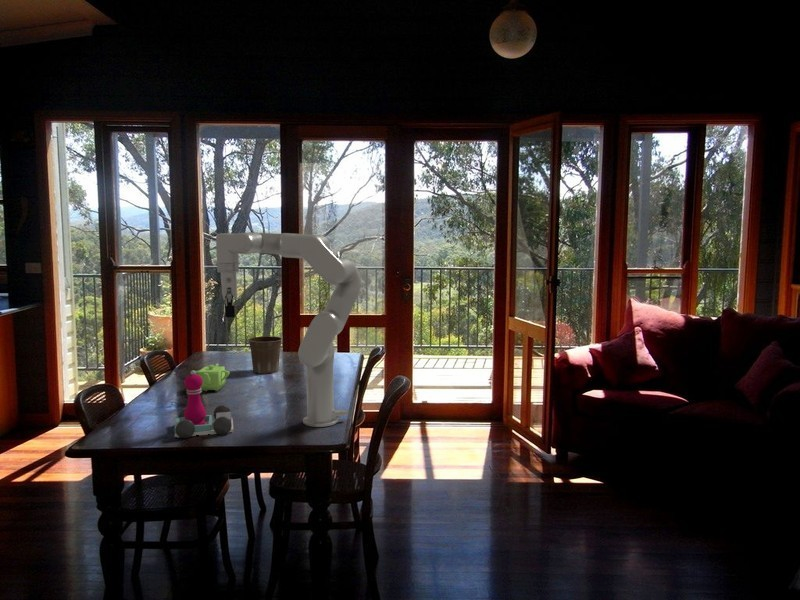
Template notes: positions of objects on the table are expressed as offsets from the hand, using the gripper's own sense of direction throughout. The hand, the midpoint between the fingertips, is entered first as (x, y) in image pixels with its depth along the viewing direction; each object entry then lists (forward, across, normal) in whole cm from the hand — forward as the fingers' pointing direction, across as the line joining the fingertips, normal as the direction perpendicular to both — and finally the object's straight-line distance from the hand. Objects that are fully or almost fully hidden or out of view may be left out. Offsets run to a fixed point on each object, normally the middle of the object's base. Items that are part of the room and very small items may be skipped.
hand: (229, 315), depth 227 cm
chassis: (+38, -10, +10) cm, 41 cm away
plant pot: (+38, +74, -17) cm, 85 cm away
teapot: (+39, +46, +8) cm, 61 cm away
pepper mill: (+37, -10, +13) cm, 41 cm away
